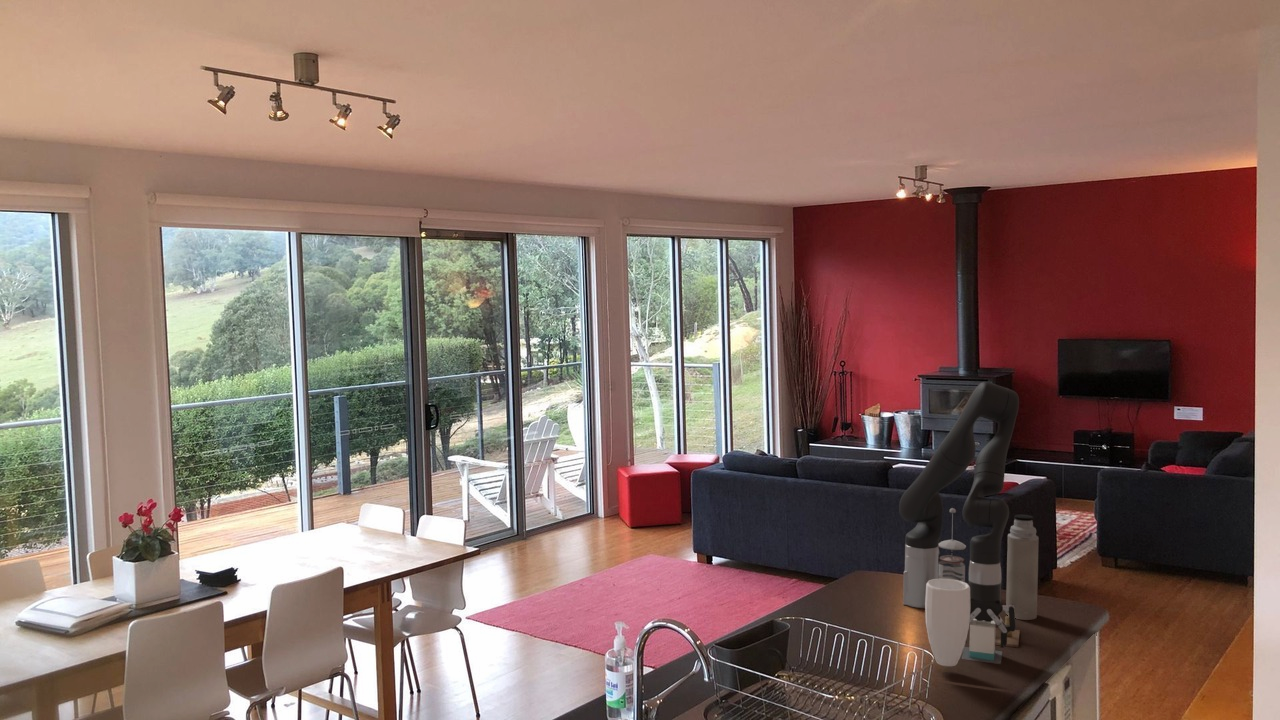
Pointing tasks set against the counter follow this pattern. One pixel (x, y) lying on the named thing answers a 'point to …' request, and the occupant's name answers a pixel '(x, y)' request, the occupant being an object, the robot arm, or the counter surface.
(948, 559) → the french press
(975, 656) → the sleeve
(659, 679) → the counter surface
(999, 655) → the pad
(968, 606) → the cup
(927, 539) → the robot arm
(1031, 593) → the thermos bottle
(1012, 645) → the pin board
